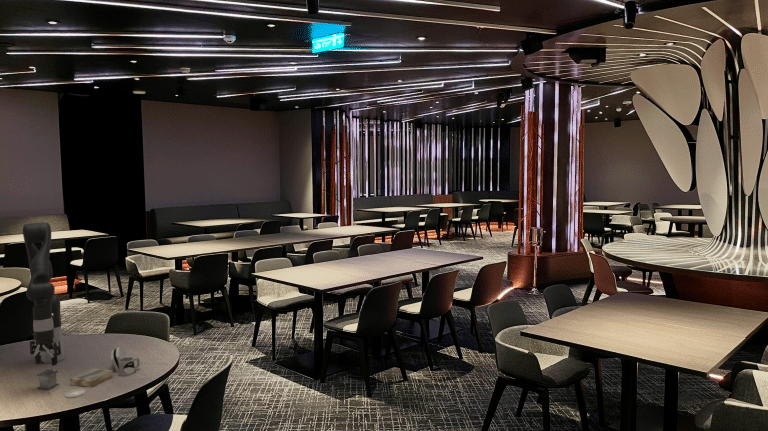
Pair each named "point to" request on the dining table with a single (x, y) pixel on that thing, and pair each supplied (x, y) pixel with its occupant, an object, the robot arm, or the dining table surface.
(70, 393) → the white smooth dome part
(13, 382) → the dining table surface
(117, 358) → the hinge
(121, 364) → the mug
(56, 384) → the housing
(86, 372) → the wooden framed mirror
